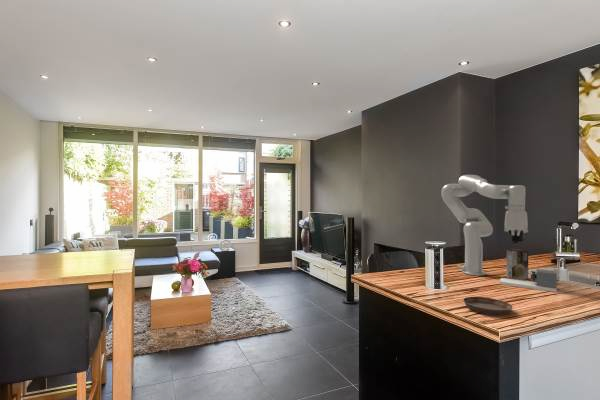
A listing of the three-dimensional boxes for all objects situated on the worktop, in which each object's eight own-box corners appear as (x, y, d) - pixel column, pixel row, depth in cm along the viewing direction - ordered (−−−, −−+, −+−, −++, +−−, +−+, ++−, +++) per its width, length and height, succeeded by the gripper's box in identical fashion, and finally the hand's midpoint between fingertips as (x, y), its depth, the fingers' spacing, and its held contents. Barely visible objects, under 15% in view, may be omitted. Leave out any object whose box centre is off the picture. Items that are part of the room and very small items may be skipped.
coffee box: (522, 276, 194) (522, 249, 194) (528, 279, 188) (529, 250, 188) (505, 276, 195) (506, 248, 195) (511, 278, 189) (512, 250, 189)
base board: (499, 284, 176) (499, 281, 176) (501, 280, 184) (501, 277, 184) (556, 292, 162) (556, 289, 162) (555, 287, 170) (555, 284, 170)
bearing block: (536, 285, 167) (536, 271, 167) (536, 282, 174) (536, 269, 174) (556, 288, 163) (556, 274, 163) (555, 285, 169) (555, 271, 169)
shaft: (530, 281, 170) (530, 271, 170) (530, 279, 174) (530, 270, 174) (559, 285, 163) (559, 275, 163) (558, 283, 168) (558, 273, 168)
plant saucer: (479, 300, 148) (480, 294, 148) (521, 313, 133) (522, 305, 133) (453, 306, 140) (454, 299, 140) (495, 320, 124) (495, 312, 124)
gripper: (499, 208, 177) (498, 242, 177) (533, 209, 168) (532, 245, 169) (500, 207, 183) (499, 240, 184) (533, 208, 175) (532, 243, 175)
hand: (515, 242), depth 176 cm, fingers closed
